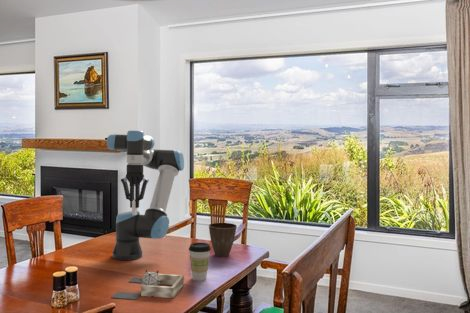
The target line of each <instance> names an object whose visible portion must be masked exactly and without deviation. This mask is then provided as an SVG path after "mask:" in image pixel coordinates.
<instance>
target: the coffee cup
mask: <svg viewBox="0 0 470 313" xmlns="http://www.w3.org/2000/svg"><path fill="white" fill-rule="evenodd" d="M211 247H212V246H210V244H209V243H207V242H194V243H191V244H190V245H189V247H188V251H189V259H190V270H191V277H192V278H191V279H192V280H194V281H205V280H206V279H207V275H208V270H209V264H210V253H211V250H212V249H211Z"/></svg>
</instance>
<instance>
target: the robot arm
mask: <svg viewBox="0 0 470 313" xmlns="http://www.w3.org/2000/svg"><path fill="white" fill-rule="evenodd" d="M126 133H127V134H117V133H114V134H109V135H108V136H107V139H106V146H107V148H108V150H112V151H119V152H121V153H122V154H125V155H126V163H127V164H126V175H125V177H124V178H121V179H120V182H121V183H122V186H123V191H124V195H125V199H126V200H127V201H129V207H130V208H131V211H125V212H121V213H118V214H117V215H116V221H115V244H114V247H113V250H112V259H114V260H116V261H117V260H118V261H133V260H139V259H140V258H142V257H143V250H142V246H141V243H140V239H141V238H142V239H143V238H144V239H153V240H156V239H157V240H159V239H161V240H162V239H163V238H164V237H165V236H166V235H167V233H168V231H169V227H170V219H169V217H168V214H167V213H166V210H167V208H168V203H169V200H170V196H171V192H172V188H173V186H174V181H175V177H178V175H179V173H180V172H181V171H182V172H183V171H184V168H185V159H184V153H183V152H182V151H181V150H177V149H173V150H172V149H153V148H154V147H155V140H154V138H153V137H152V136H151V135H148V134H144V131H143V130H128V131H127V132H126ZM144 167H146V168H149V169H152V170H156V171H158V172H159V175H158V177H157V181H156V184H155V188H154V191H153V194H152V198H151V202H150V205H149V208H147V209H146V210H145V212H144V214H141V213H140V210H139V211H138V209H139V208H140V201H141V200H143V199H144V198H145V197H144V196H145V192H146V189H147V185H148V183H149V181H150V180H149V179H148V178H146V177H145V175H144ZM141 182H142V185H141ZM128 183H129V185H128ZM140 186H141V188H140ZM140 189H141V190H140Z"/></svg>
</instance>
